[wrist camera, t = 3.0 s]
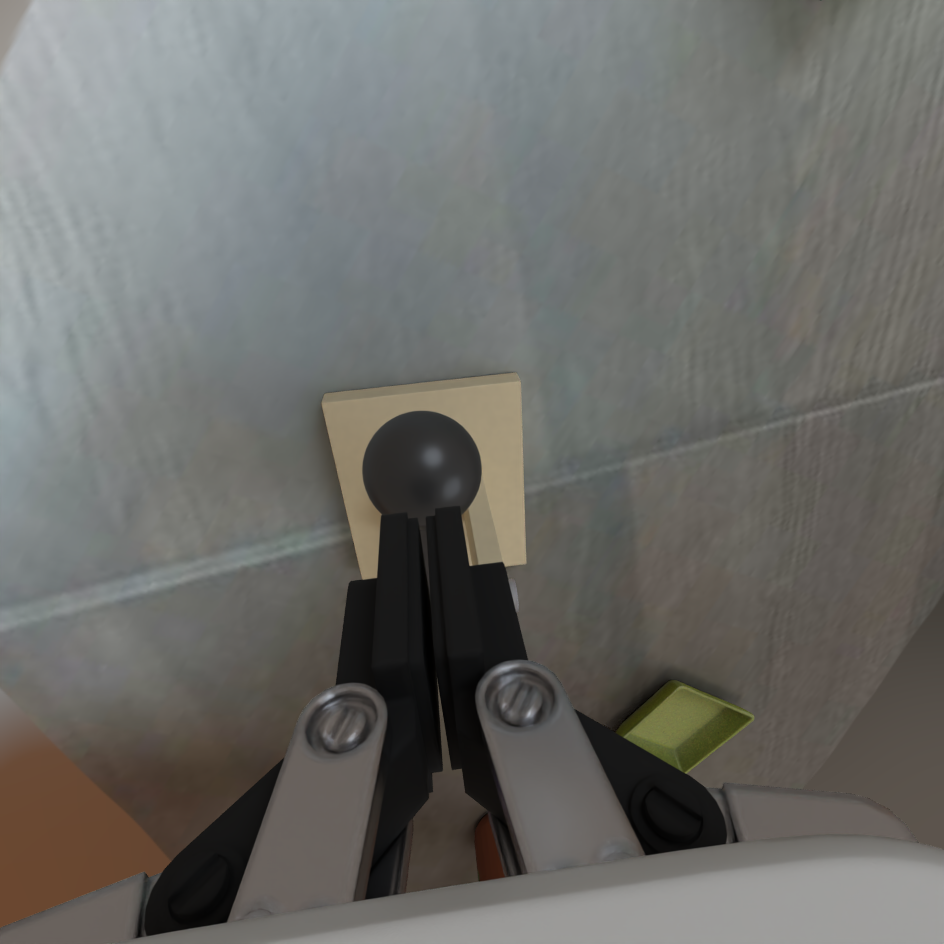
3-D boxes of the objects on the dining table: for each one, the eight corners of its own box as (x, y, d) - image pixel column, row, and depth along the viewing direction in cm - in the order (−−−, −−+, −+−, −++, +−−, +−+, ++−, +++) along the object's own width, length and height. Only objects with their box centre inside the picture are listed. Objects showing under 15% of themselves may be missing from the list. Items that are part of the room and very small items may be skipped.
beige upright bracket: (324, 392, 28) (280, 530, 18) (516, 372, 29) (577, 494, 19) (364, 571, 35) (349, 747, 24) (522, 550, 35) (570, 715, 25)
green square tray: (670, 663, 42) (682, 685, 40) (744, 695, 45) (758, 717, 44) (598, 728, 46) (606, 752, 44) (671, 754, 49) (682, 777, 47)
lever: (350, 392, 14) (351, 496, 13) (472, 378, 15) (490, 479, 13) (408, 586, 25) (413, 657, 23) (478, 577, 25) (488, 647, 24)
